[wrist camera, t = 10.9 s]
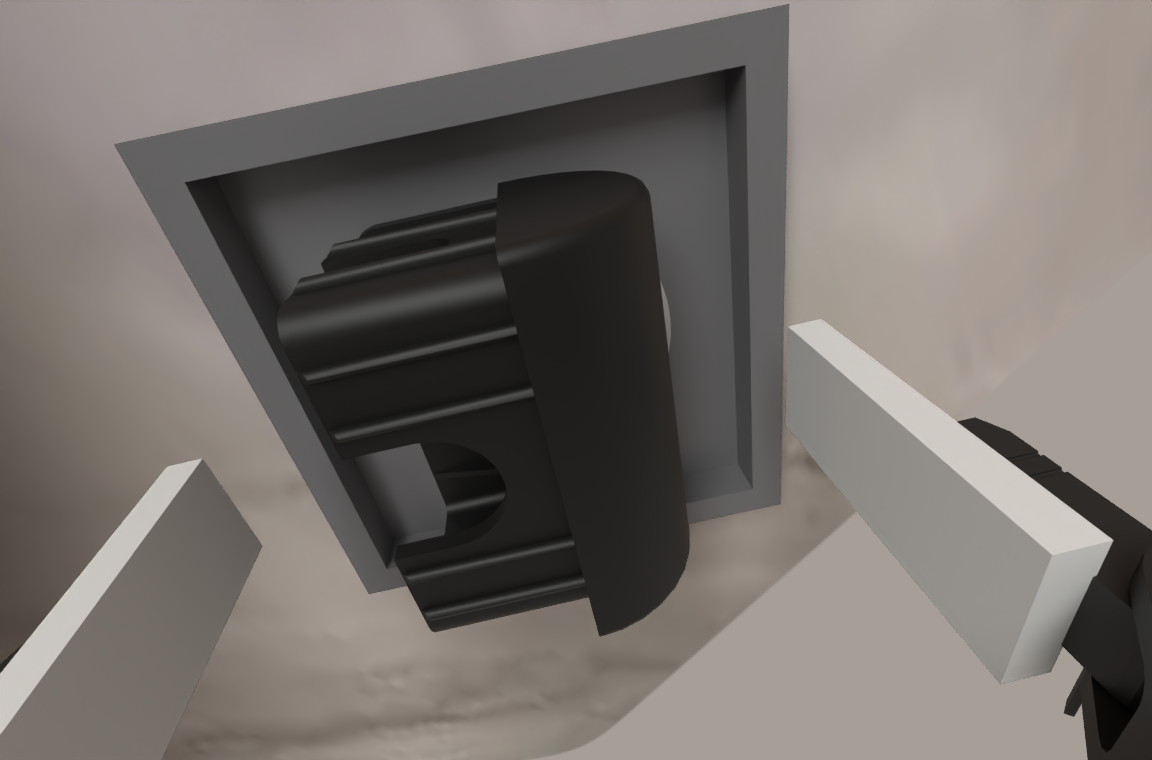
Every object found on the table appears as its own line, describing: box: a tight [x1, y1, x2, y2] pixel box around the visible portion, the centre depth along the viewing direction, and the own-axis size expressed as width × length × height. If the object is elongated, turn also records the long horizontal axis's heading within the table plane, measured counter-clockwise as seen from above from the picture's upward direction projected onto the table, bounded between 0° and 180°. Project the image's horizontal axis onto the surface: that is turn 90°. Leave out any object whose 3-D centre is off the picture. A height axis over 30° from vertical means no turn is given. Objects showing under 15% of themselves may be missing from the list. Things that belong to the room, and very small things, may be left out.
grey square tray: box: [114, 4, 789, 594], centre depth 17 cm, size 15×15×2 cm
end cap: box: [277, 170, 689, 637], centre depth 14 cm, size 10×7×7 cm
